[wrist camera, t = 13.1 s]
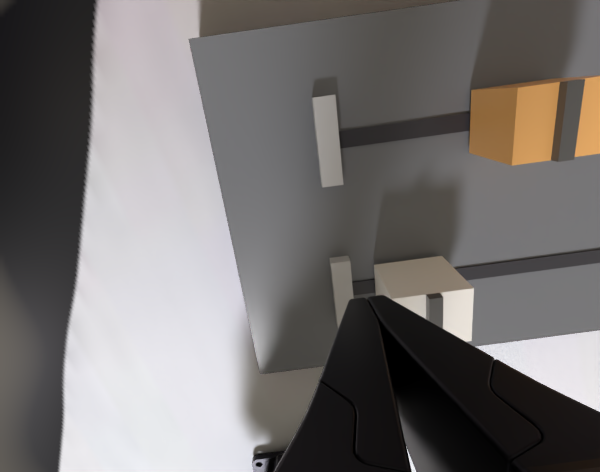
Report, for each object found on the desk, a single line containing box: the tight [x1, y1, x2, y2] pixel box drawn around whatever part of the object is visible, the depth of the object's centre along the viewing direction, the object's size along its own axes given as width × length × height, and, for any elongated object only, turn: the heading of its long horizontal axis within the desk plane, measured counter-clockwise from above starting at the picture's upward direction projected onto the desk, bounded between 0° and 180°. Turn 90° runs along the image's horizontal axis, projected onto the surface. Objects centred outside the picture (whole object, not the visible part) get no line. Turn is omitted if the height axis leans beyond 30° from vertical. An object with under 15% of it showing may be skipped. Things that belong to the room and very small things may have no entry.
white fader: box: [374, 256, 474, 342], centre depth 18 cm, size 3×4×4 cm
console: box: [189, 0, 600, 374], centre depth 19 cm, size 18×24×3 cm
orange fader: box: [469, 75, 600, 166], centre depth 15 cm, size 3×4×4 cm
